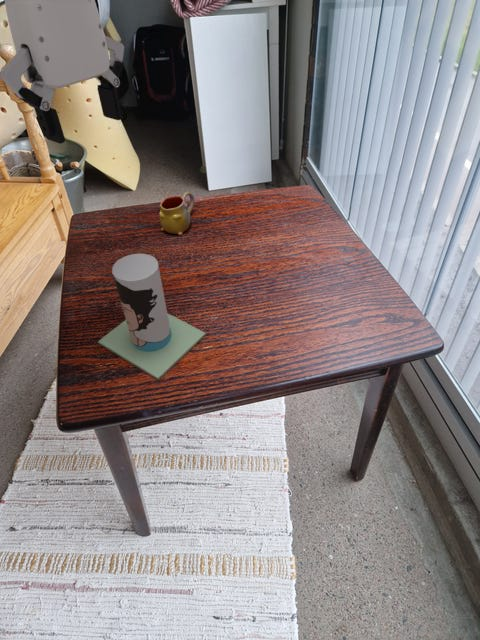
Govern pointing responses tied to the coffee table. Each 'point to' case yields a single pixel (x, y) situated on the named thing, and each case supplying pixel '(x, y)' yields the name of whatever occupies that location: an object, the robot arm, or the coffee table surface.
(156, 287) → the cup
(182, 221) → the mug
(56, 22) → the robot arm
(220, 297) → the coffee table surface
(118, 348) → the mat
